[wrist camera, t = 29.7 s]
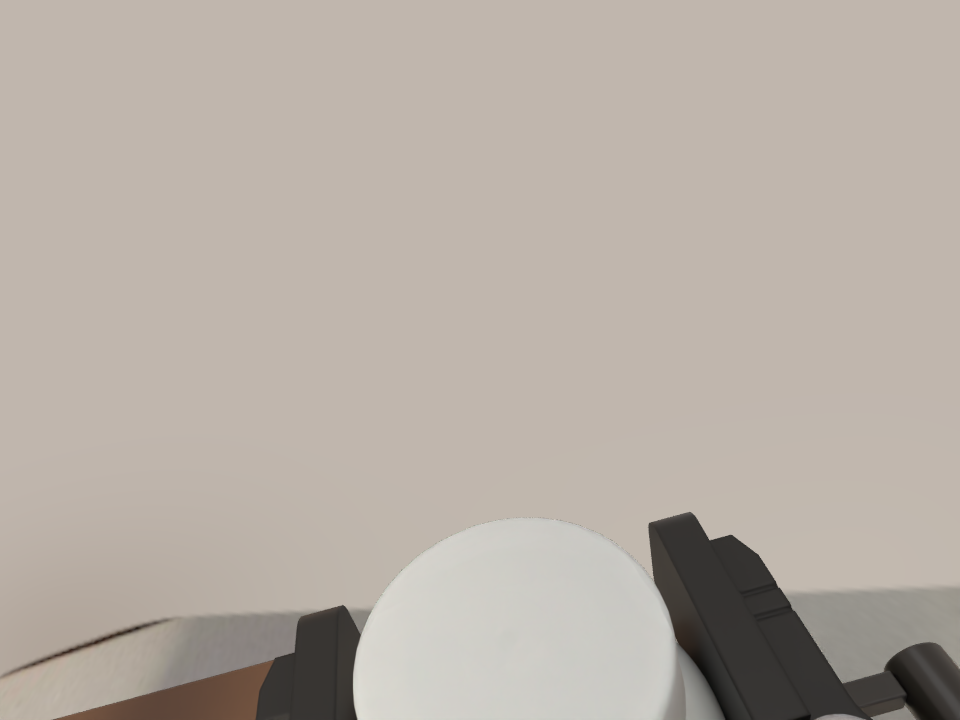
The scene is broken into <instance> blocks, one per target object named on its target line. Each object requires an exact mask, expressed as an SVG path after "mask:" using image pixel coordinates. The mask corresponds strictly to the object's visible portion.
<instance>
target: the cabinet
mask: <svg viewBox="0 0 960 720" xmlns="http://www.w3.org/2000/svg"><path fill="white" fill-rule="evenodd" d="M273 661H274V660H272V661H268V662H265V663H261V664H257V665H253V666H250V667H246V668H242V669H239V670H235V671H231V672H228V673H224V674H220V675H216V676H213V677H209V678H205V679H202V680H198V681H194V682H191V683H187V684H183V685H179V686H176V687H172V688H168V689H165V690H161V691H157V692H153V693H150V694H146V695H142V696H139V697H135V698H131V699H128V700H124V701H120V702H116V703H113V704H109V705H105V706H102V707H98V708H94V709H90V710H87V711H83V712H79V713H76V714H72V715H68V716H65V717H61V718H57V719H53V720H256V712H257V704H258V696H259V690H260V688H261V686H262V684H263V682H264V680H265V678H266V676H267V674H268V671H269V669H270V667H271V665H272V663H273Z"/></svg>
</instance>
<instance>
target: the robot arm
mask: <svg viewBox="0 0 960 720" xmlns="http://www.w3.org/2000/svg"><path fill="white" fill-rule="evenodd" d="M649 538H650V547H651V557H652V566H653V576H654V582H655V585H656V587H657V588H658V590H659V592H660V594H661V596H662V598H663V600H664V602H665V605H666V607H667V609H668V611H669V615H670V618H671V622H672V626H673V629H674V634H675V637H676V639H677V641H678V644H679V645H680V646H681V647H682V648H683V649H684V650H685V651H686V653H687V654H688V655H689V656H690V658H691V659H692V660H693V661H694V663H695V664H696V665H697V667H698V668H699V669H700V671H701V672H702V674H703V675H704V677H705V678H706V680H707V682H708V684H709V685H710V687H711V689H712V691H713V693H714V695H715V696H716V698H717V701H718V703H719V705H720V707H721V710H722V712H723V714H724V717H725V720H873V719H871V718H870V717H869V716H868V715H867V714H866V713H864V712H863V711H862V710H861V708H860V707H859V706H858V705H857V704H856V703H855V702H854V700H853V699H852V698H851V696H850V695H849V693H848V692H847V690H846V689H845V687H844V686H843V684H842V683H841V681H840V680H839V678H838V677H837V675H836V673H835V672H834V670H833V669H832V667H831V666H830V664H829V663H828V661H827V660H826V658H825V657H824V655H823V653H822V652H821V650H820V649H819V647H818V646H817V644H816V643H815V641H814V640H813V638H812V637H811V635H810V633H809V632H808V630H807V629H806V627H805V626H804V624H803V623H802V621H801V620H800V618H799V617H798V615H797V613H796V612H795V611H793V610H792V608H791V604H790V603H789V601H788V600H787V598H786V596H785V595H784V593H783V592H782V590H781V589H780V588H778V586H777V584H776V581H775V580H774V578H773V577H772V575H771V574H770V572H769V570H768V569H767V567H766V566H765V564H764V563H763V561H762V560H761V558H760V557H759V555H758V554H757V553H755V552H754V551H753V550H751V549H750V548H748V547H747V546H746V545H744V544H743V543H742V542H741V541H739V540H738V539H736V538H735V537H734V536H733V535H728V536H725V537H721V538H717V539H714V540H709V539H708V537H707V535H706V534H705V532H704V530H703V528H702V527H701V525H700V523H699V522H698V520H697V518H696V517H695V516H694V515H693V514H692V513H691V512H688V513H684V514H680V515H677V516H673V517H670V518H666V519H662V520H658V521H655V522H651V523H649ZM360 637H361V635H360V633H359V631H358V629H357V627H356V625H355V623H354V621H353V619H352V617H351V615H350V614H349V612H348V610H347V608H346V607H345V606H343V605H342V606H338V607H334V608H331V609H327V610H323V611H320V612H316V613H312V614H309V615H305V616H302V617H300V619H299V621H298V625H297V632H296V644H295V653H292V654H288V655H284V656H281V657H277V658H275V659H274V661H273V663H272V665H271V667H270V669H269V671H268V674H267V676H266V678H265V680H264V682H263V684H262V686H261V688H260V690H259V696H258V704H257V712H256V720H357V715H356V711H355V707H354V695H353V671H354V664H355V657H356V651H357V647H358V644H359V641H360Z"/></svg>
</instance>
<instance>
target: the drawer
mask: <svg viewBox="0 0 960 720" xmlns="http://www.w3.org/2000/svg"><path fill="white" fill-rule="evenodd" d="M843 686H844V687H845V689H846V690H847V692H848V693H849V695H850V696H851V698H852V699H853V700H854V702H855V703H856V704H857V705H858V706H859V707H860V708H861V710H862V711H863V712H864V713H866V714H867V715H868V716H869V717H873V716H876V715H880V714H884V713H887V712H891V711H894V710H898V709H902V708H903V707H904V705H906V706H907V708H908V709H909V711H910V712H911V713H912V715H913V716H914V718H915V719H916V720H960V669H959V668H958V666H957V665H956V664H955V663H954V662H953V660H952V659H951V658H950V657H949V655H948V654H947V653H946V652H945V651H944V649H943V648H942V647H941V646H940V645H938V644H936V643H931V642H927V643H920V644H916V645H913V646H910V647H908V648H906V649H904V650H902V651H900V652H899V653H897V654H896V655H895V656H893V657H892V658H891V659H890V660H889V661H888V662H887V664H886V666H885V668H884V672H883V673H880V674H876V675H872V676H869V677H865V678H861V679H858V680H854V681H851V682H847V683H843Z"/></svg>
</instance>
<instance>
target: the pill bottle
mask: <svg viewBox="0 0 960 720" xmlns="http://www.w3.org/2000/svg"><path fill="white" fill-rule="evenodd" d="M353 695H354V707H355V711H356V715H357V720H725V717H724V714H723V712H722V710H721V707H720V705H719V703H718V701H717V698H716V696H715V695H714V693H713V691H712V689H711V687H710V685H709V684H708V682H707V680H706V678H705V677H704V675H703V674H702V672H701V671H700V669H699V668H698V667H697V665H696V664H695V663H694V661H693V660H692V659H691V658H690V656H689V655H688V654H687V653H686V651H685V650H684V649H683V648H682V647H681V646H680V645H679V644H678V643H677V642H676V640H675V634H674V629H673V626H672V622H671V618H670V615H669V611H668V609H667V607H666V605H665V602H664V600H663V598H662V596H661V594H660V592H659V590H658V588H657V587H656V585H655V583H654V581H653V580H652V578H651V577H650V576H649V574H648V573H647V572H646V570H645V569H644V568H643V567H642V566H641V565H640V564H639V563H638V562H637V561H636V560H635V559H634V558H633V557H632V556H631V555H630V554H629V553H628V552H626V551H625V550H624V549H622V548H621V547H620V546H619V545H617V544H616V543H615V542H613V541H612V540H610V539H608V538H606V537H604V536H603V535H601V534H599V533H597V532H594V531H592V530H590V529H587V528H585V527H583V526H580V525H577V524H573V523H570V522H565V521H561V520H553V519H546V518H507V519H502V520H496V521H492V522H487V523H483V524H479V525H475V526H473V527H470V528H467V529H465V530H463V531H461V532H458V533H456V534H454V535H451V536H450V537H448V538H446V539H444V540H441V541H439V542H438V543H436V544H435V545H433V546H432V547H430V548H429V549H427V550H426V551H424V552H422V553H421V554H419V555H418V556H417V557H416V558H415V559H414V560H413V561H411V562H410V563H409V564H408V565H407V567H405V568H404V569H403V570H401V572H400V573H399V574H398V575H397V576H396V577H395V578H394V579H393V580H392V582H391V583H390V584H389V585H388V586H387V587H386V589H385V591H384V592H383V594H382V595H381V597H380V598H379V599H378V601H377V602H376V604H375V606H374V608H373V610H372V611H371V613H370V615H369V618H368V620H367V622H366V625H365V627H364V629H363V632H362V634H361V637H360V641H359V644H358V647H357V651H356V657H355V664H354V671H353Z"/></svg>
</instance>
